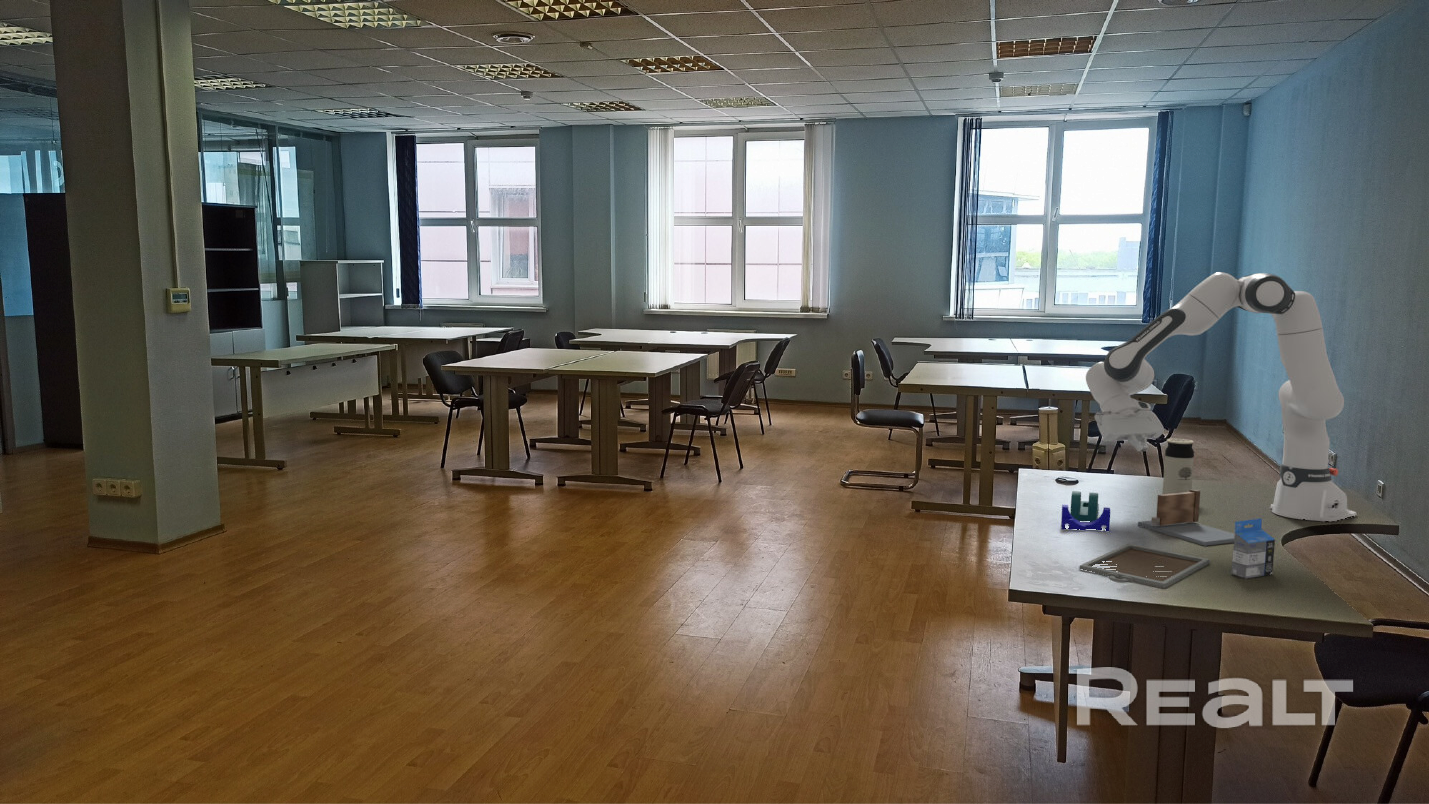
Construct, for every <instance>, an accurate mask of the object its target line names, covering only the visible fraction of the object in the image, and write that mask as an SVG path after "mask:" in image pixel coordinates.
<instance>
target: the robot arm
mask: <svg viewBox="0 0 1429 804" xmlns="http://www.w3.org/2000/svg"><path fill="white" fill-rule="evenodd" d="M1236 307H1237V308H1239V309H1241V310H1242V311H1247V312H1250V313H1253V314H1270V315H1271V316H1272V318H1273V321H1274V323H1275V330H1276V337H1277V343H1278V348H1279V356H1280V361H1281V363H1282V365H1283V367H1284V369H1285V371H1286V374H1287V377H1288V380H1286V381H1285V382H1284V383H1283V384H1281V386H1280V388H1279V390H1278V399H1279V402H1280V408H1281V419H1282V420H1281V421H1282V427H1283V450H1282V451H1283V452H1282V463H1280V465H1279V466H1280V467H1279V477H1280V478H1279V480H1278V481H1277V483H1276V487H1275V493H1274V498H1273V503H1271V504H1270V509H1271V512H1272V513H1273V514H1275V515H1278V516H1281V517H1285V518H1290V519H1296V520H1303V519H1305V520H1304V521H1306V520H1307V521H1315V522H1316V521H1317V522H1325V521H1335V522H1338V521H1337V520H1339V521H1341V520H1340V519H1343V520H1346V519H1345V518H1347V517H1350V516H1354V517H1356V516H1355V515H1357V512H1356V511H1354V510H1351V509H1348V496H1347V494H1346V493H1345V492H1344V491H1343V490H1342V489H1340V488H1339V487H1338V486H1337V485H1336V484H1335V483H1334V482H1333V481H1332V476H1335V477H1336V476H1338V475H1339V469H1338V468H1333V467H1329V455H1330V444H1331V441H1330V437H1329V435H1328V430H1327V426H1326V425H1327V424H1326V421H1327V420H1330V419H1334V418H1336V417H1337V416H1338V415H1339V414H1340V413H1341V412H1342V410H1343V409H1344V407H1345V399H1344V395H1343V394H1342V393H1343V392H1341V390H1340V388H1339V386H1338V383H1337V380H1336V377H1335V374H1334V372H1333V368H1332V366H1331V363H1330V360H1329V358H1328V357H1329V356H1328V352H1327V348H1326V346H1327V345H1326V340H1325V335H1324V329H1323V328H1324V327H1323V323H1322V318H1321V314H1320V311H1319V308H1318V305H1317V302H1316V299H1315V297H1314V296H1313V295H1312V293H1309V292H1307V291H1303V290H1293V288H1291V287H1290V286H1289V284H1287V282H1286V281H1285V280H1284V279H1283V278H1282V277H1280V276H1279V275H1276V274H1273V273H1272V274H1271V273H1263V272H1260V273H1259V272H1258V273H1254V274H1248V275H1245V276H1242V277H1238V278H1236V277H1234V276H1233V275H1231V274H1230V273H1226V272H1221V271H1217V272H1214V273H1212V274H1211V275H1210V276H1208V277H1207V278H1205V279H1203V280H1202V281H1201V282H1199V284H1197V285H1196V286H1195V287H1194V288H1193V289H1191V291H1190V292H1188V293H1187V294H1186V295H1185V296H1184V297H1183V298H1182V299H1180V301H1179V302H1177V303H1176V304H1175V305H1173V307H1171V308H1169V309H1167V310H1165V311H1164V312H1162V313H1161V314H1160V315H1158V316H1157V317H1156V318H1155V319H1153V320H1152V321H1150V322H1149V323H1148V324H1147V325H1146V326H1145V327H1143V328H1142V329H1141V330H1139V332H1137V333H1136V334H1135V335H1134V336H1132V337H1131V338H1130V339H1128V340H1127V341H1125V342H1123V343H1121V344H1118V345H1117V346H1115V347H1113V348H1111V349H1110V350H1109V352H1108V353H1107V354H1106V356H1105V358H1104V361H1099V362H1097V363H1095V364H1093V365H1092V366H1091V367H1090V368H1089V369H1088V370H1087V372H1086V374H1085V381H1086V385H1087V387H1088V389H1089V392H1090V393H1091V395H1092V397H1093V399H1094V400H1095V402H1097V404H1098V405H1099V408H1100V410H1101V411H1098V412H1096V413H1095V414H1094V416H1093V417H1094V419H1095V422H1096V425H1097V428H1098V431H1099V433H1100V434H1101V435H1100V436H1101V437H1102V438H1103V439H1104V441H1106V442H1117V441H1118V442H1119V441H1127V443H1129V444H1130V445H1131V446H1132V447H1134V448H1135V449H1136V451H1137V452H1146V451H1148V450H1149V449H1150V446H1149V445H1148V442H1147V441H1148V440H1150V439H1151V440H1152V439H1159V437H1161V436H1162V435H1163V434H1164V432H1165V428H1164V426H1163V424H1162V422H1161V421H1160V419H1159V418H1158V416H1157V415H1156V414H1155V412H1153V411H1152V410H1151V409H1152V407H1151V405H1150V404H1149V403H1147V402H1144V401H1140V400H1137V399H1135V398H1132V397H1131V396H1132V395H1135V394H1138V393H1140V392H1143V391H1144V390H1147V389H1148V388H1149V387H1151V385H1152V384H1153V382H1154V380H1155V377H1156V375H1155V369H1154V367H1153V366H1152V365H1151V364H1150V363H1149V362H1148V361H1147V360H1146V359H1145V358H1146V357H1147V356H1148V355H1149V354H1150V353H1151V352H1153V351H1154V350H1155V349H1156V348H1158V346H1160V345H1161V344H1163V342H1164V341H1166V340H1167V339H1168V338H1170V337H1173V336H1176V335H1185V336H1198V335H1202V334H1203V333H1204V332H1206V331H1207V330H1209V329H1210V328H1212V327H1213V326H1214V325H1215V324H1216V323H1217V322H1218V321H1219V320H1221V318H1222V317H1223V316H1224V315H1225V314H1226V313H1228V311H1230V310H1231V309H1233V308H1236ZM1357 516H1358V515H1357ZM1347 519H1348V518H1347Z"/></svg>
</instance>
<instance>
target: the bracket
mask: <svg viewBox="0 0 1429 804" xmlns="http://www.w3.org/2000/svg"><path fill="white" fill-rule="evenodd" d="M1088 494H1089V495H1088V501H1087V500H1084V501H1083V500H1082V491H1075V490H1073V491H1072V490H1071V500H1070V511H1069V512H1070V514H1071V515H1072V517H1073V518H1075V519H1076V520H1078V521H1090V522H1092V521H1095V520H1096V519H1098V517H1099V516H1098V515H1099V512H1100V511H1099V509H1100V504H1099V493H1098V492H1089V493H1088ZM1098 511H1099V512H1098ZM1097 516H1098V517H1097Z"/></svg>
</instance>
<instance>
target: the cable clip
mask: <svg viewBox="0 0 1429 804" xmlns="http://www.w3.org/2000/svg"><path fill="white" fill-rule="evenodd" d="M1070 512H1071V511H1070V510H1069V504H1062V505H1061V517H1060V518H1061V522H1060V523H1061V524H1060V526H1061V527H1062V528H1061V527H1060V528H1061V530H1064V529H1066V528H1065V525H1068V526H1069V528H1068V529H1077V530H1079V529H1080V530H1086V529H1096V530H1102V528H1103V527H1104V526H1105V529H1106V531H1105V532H1107V531H1109V532H1110V526H1111V507H1105V506H1104V507H1103V509H1102V512H1101V514H1100V516H1098V517H1097V519H1096V520H1095V521H1092V522H1080V521H1078V520H1076V519H1075V518H1073V517H1072V515H1071V514H1070ZM1077 530H1076V531H1077ZM1086 531H1087V530H1086Z"/></svg>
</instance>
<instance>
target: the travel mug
mask: <svg viewBox="0 0 1429 804" xmlns="http://www.w3.org/2000/svg"><path fill="white" fill-rule="evenodd" d="M1166 442H1167V447H1166V448H1165V450H1164V466H1163V482H1162V494H1172V493H1182V492H1189V490H1191V489H1193V478H1194V475H1193V474H1194V473H1193V472H1194V462H1195V461H1194V460H1195V451H1194V449H1193V444H1194V442H1195V441H1194V440H1191V439H1187V438H1167V439H1166Z"/></svg>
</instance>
